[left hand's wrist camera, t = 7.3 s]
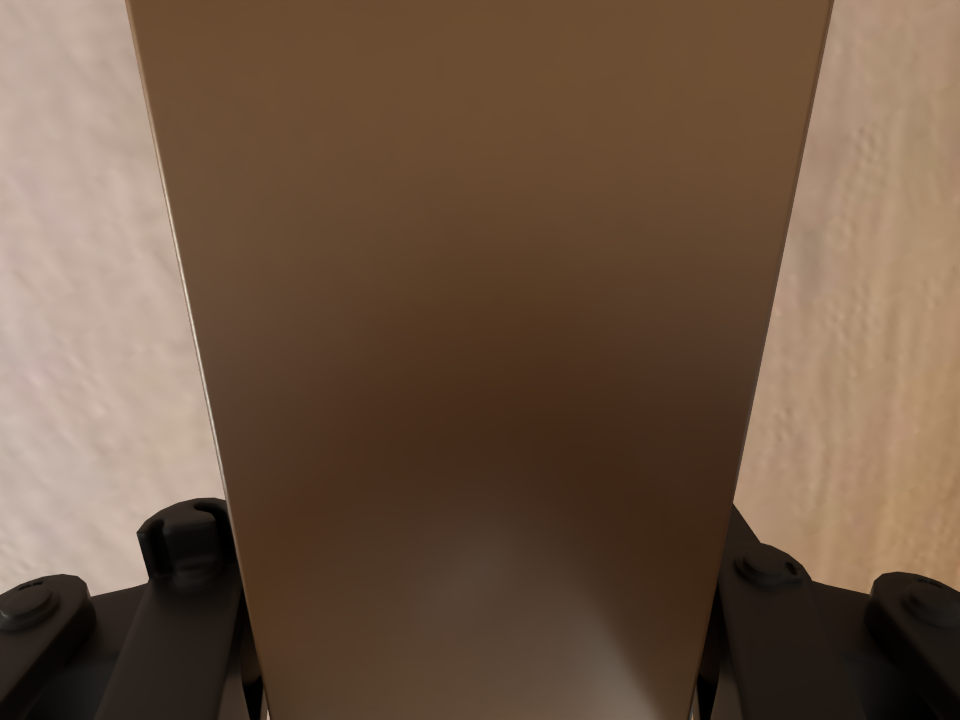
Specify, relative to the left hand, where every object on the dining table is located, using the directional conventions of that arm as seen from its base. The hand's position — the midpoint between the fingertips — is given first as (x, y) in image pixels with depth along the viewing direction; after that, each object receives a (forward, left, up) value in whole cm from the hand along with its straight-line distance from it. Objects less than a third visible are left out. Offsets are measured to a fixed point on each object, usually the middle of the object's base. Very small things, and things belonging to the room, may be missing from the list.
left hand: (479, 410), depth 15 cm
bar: (+9, 0, -1) cm, 9 cm away
